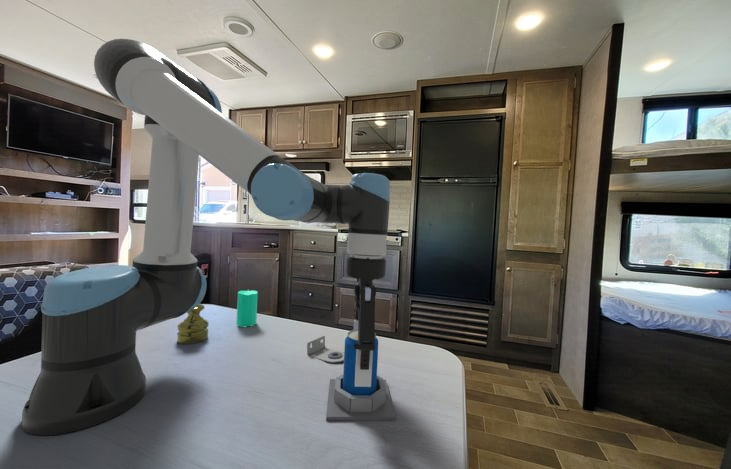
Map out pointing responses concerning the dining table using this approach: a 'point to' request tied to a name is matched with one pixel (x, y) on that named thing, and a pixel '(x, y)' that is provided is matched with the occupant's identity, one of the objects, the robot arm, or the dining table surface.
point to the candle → (247, 308)
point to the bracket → (326, 356)
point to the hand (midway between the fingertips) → (360, 365)
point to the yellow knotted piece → (193, 327)
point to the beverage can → (351, 366)
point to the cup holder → (359, 403)
